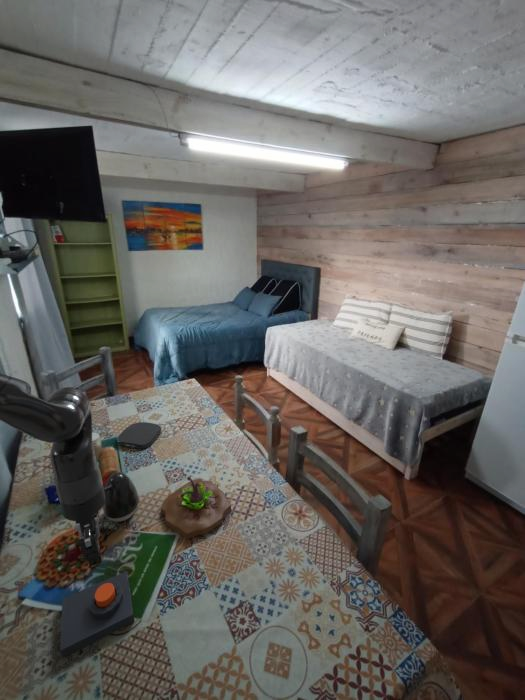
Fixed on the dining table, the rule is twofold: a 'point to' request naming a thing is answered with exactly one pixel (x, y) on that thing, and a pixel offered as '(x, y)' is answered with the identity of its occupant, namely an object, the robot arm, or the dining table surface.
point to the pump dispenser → (120, 497)
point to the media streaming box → (139, 435)
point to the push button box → (94, 615)
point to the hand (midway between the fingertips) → (94, 549)
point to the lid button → (105, 595)
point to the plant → (195, 508)
